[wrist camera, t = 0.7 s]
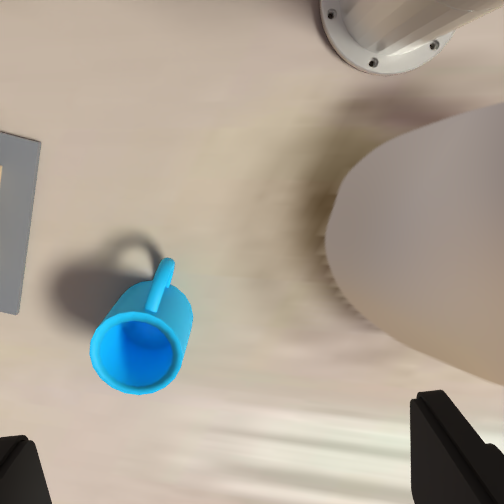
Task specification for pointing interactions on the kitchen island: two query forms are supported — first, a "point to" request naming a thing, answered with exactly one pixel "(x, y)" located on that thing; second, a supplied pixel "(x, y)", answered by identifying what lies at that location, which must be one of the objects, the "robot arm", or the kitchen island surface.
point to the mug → (144, 335)
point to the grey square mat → (15, 214)
